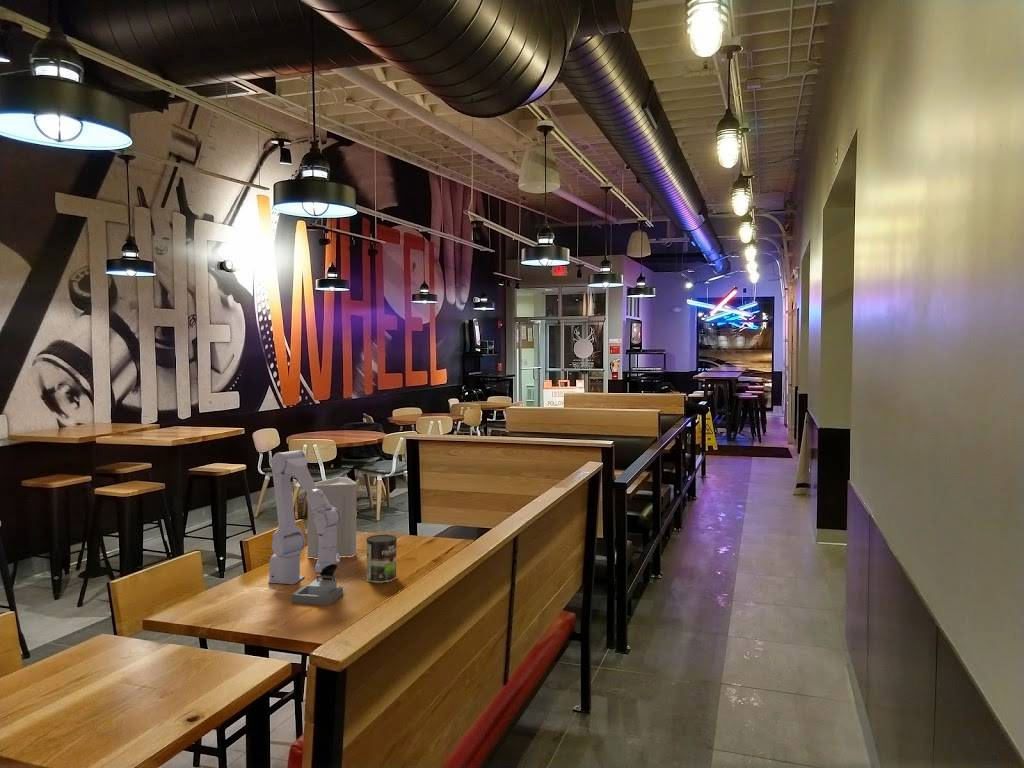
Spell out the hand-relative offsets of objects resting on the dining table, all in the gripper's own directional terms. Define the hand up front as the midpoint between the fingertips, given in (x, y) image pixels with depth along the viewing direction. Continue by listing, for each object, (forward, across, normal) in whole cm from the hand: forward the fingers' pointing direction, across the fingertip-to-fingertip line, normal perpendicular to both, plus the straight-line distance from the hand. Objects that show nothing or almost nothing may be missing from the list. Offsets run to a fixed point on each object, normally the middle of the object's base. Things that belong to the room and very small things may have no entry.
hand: (327, 587), depth 224 cm
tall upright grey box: (+1, +41, +13) cm, 43 cm away
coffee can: (+1, +16, -13) cm, 20 cm away
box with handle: (+1, -4, 0) cm, 4 cm away
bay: (+1, -6, 0) cm, 7 cm away
